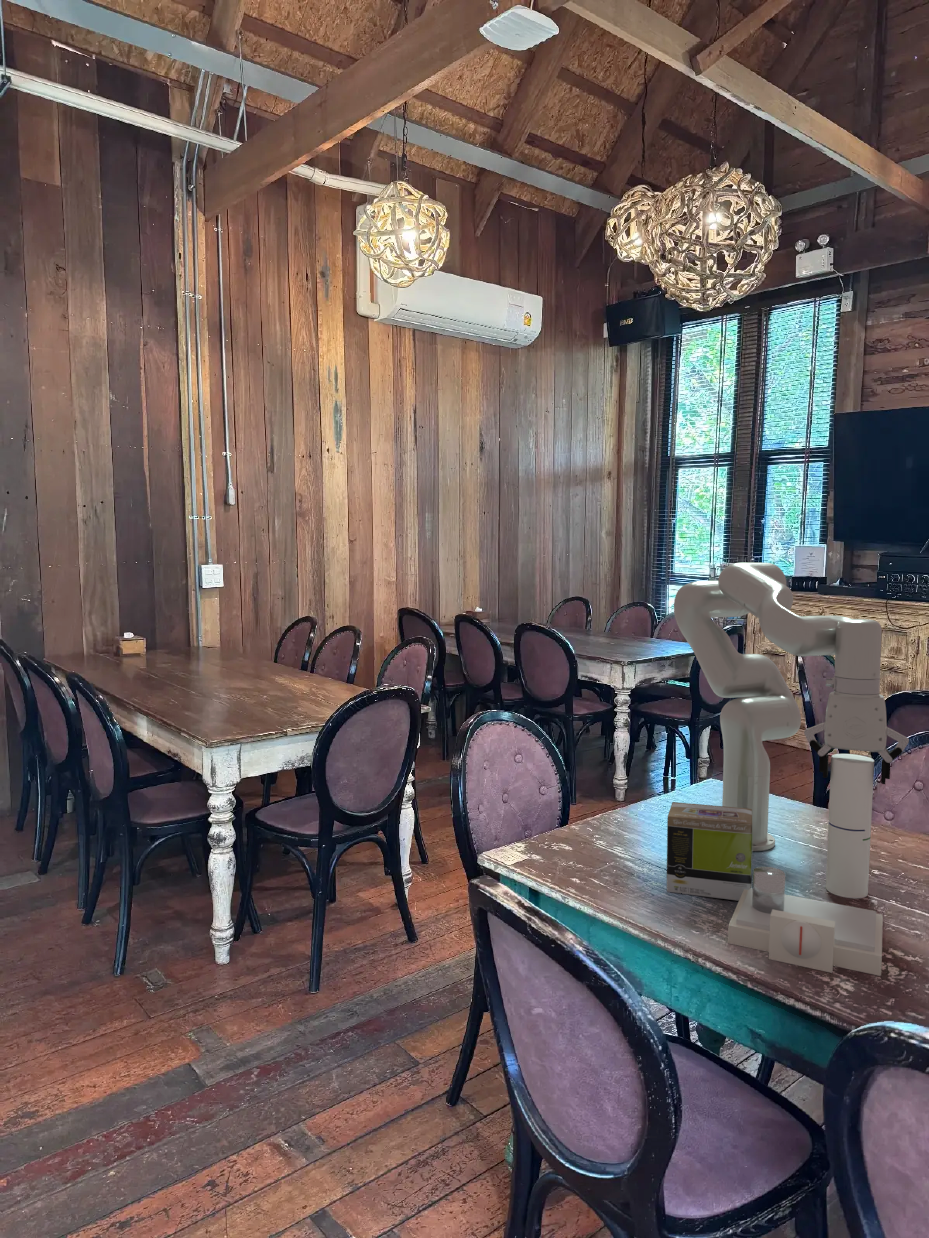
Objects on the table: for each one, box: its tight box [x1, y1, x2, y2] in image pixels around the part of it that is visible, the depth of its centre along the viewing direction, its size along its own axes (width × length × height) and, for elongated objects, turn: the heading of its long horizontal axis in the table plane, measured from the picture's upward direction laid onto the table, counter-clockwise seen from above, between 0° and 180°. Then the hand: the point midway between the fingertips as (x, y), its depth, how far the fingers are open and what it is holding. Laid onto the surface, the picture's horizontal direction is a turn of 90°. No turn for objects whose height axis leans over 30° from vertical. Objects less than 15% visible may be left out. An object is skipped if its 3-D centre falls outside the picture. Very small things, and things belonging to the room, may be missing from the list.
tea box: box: [666, 801, 753, 902], centre depth 154 cm, size 15×10×15 cm
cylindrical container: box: [825, 753, 875, 899], centre depth 153 cm, size 7×7×25 cm
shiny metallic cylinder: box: [752, 866, 786, 914], centre depth 137 cm, size 5×5×6 cm
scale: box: [727, 887, 884, 977], centre depth 134 cm, size 22×19×7 cm
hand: (853, 779), depth 152 cm, fingers open, 9 cm apart
